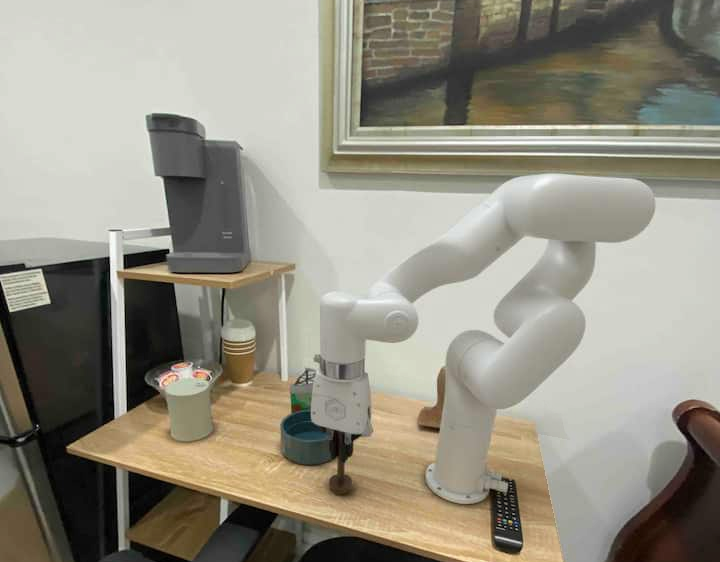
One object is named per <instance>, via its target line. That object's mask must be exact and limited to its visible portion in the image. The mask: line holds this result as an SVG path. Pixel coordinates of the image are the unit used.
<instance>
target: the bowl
mask: <svg viewBox="0 0 720 562" xmlns="http://www.w3.org/2000/svg"><path fill="white" fill-rule="evenodd" d="M279 431H280V452H281V453H282V454H283V456H284V457H285V458H286V459H287V460H288V461H291V462H293V463H295V464H298V465H302V466H303V465H304V466H316V465H321V464H322V465H323V464H324V463H328V462H330V461H332V459H331V452H330V451H329V440H328V439H327V435H326V433H325V432H324V431H323V430H322V428H321V427H319V426H318V425H316V424H314V423H313V422H312V421H311V410H302V411H298V412H294V413H292V412H291V413H289V414H288V415H286V416H285V417H284V418H283V419H282V420H281V422H280V424H279Z"/></svg>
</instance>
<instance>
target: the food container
mask: <svg viewBox="0 0 720 562" xmlns="http://www.w3.org/2000/svg"><path fill="white" fill-rule="evenodd" d="M316 371H317V370H316V369H314V368H311V367H306V366H305V367H304V372H303V373H302V374H301V375H300V376H299V377H298V378H297V379H296V381H295V382H294V383H293V384H289V394H290V408H291V410H290V411H291V412H290V413H291V414H292V413H294V412H298V411H302V410H311V400H312V390H313V384H314V378H315V374H316Z"/></svg>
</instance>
